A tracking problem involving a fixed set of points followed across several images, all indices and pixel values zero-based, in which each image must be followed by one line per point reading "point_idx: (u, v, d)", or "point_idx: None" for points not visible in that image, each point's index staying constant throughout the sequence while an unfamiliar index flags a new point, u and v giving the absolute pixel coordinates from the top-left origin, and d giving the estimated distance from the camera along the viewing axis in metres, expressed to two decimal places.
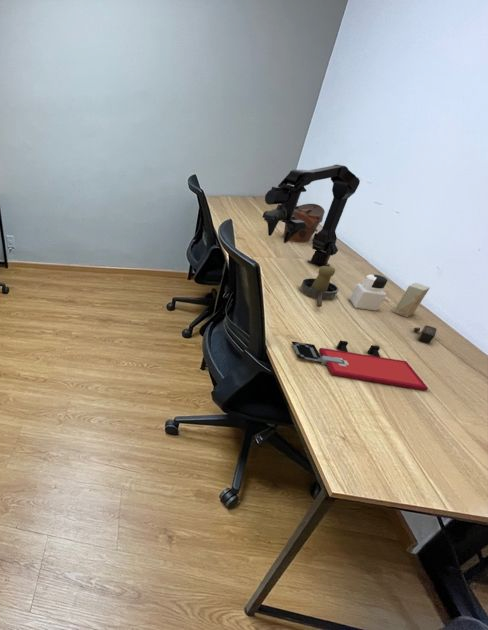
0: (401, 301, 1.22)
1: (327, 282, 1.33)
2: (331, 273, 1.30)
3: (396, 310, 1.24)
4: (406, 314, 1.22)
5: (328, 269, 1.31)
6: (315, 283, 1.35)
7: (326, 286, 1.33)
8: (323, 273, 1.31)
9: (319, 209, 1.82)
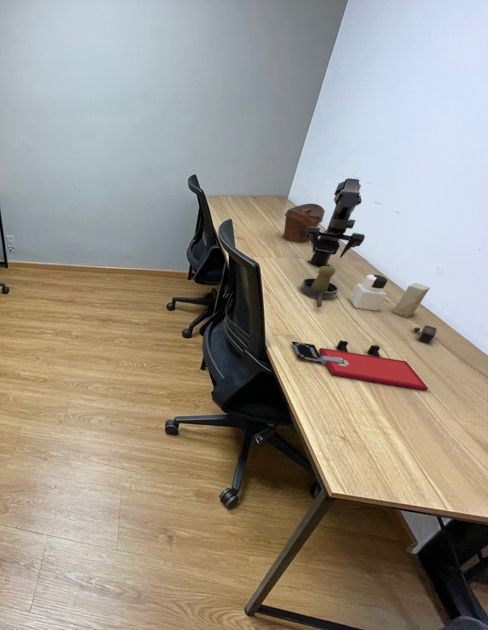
0: (401, 301, 1.22)
1: (327, 282, 1.33)
2: (331, 273, 1.30)
3: (396, 310, 1.24)
4: (406, 314, 1.22)
5: (328, 269, 1.31)
6: (315, 283, 1.35)
7: (326, 286, 1.33)
8: (323, 273, 1.31)
9: (319, 209, 1.82)
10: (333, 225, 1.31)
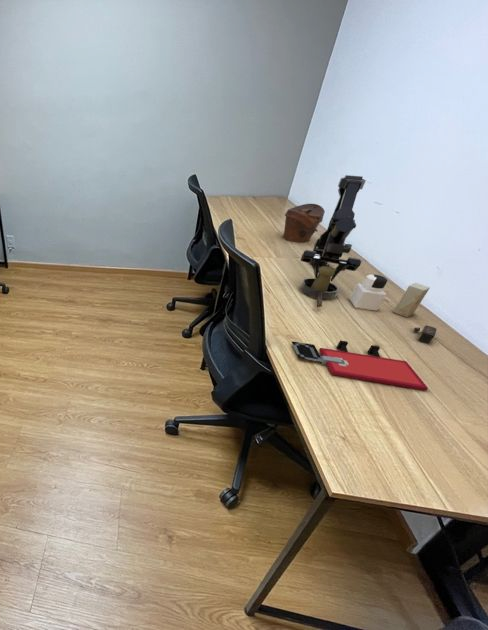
0: (401, 301, 1.22)
1: (327, 282, 1.33)
2: (331, 273, 1.30)
3: (396, 310, 1.24)
4: (406, 314, 1.22)
5: (328, 269, 1.31)
6: (315, 283, 1.35)
7: (326, 286, 1.33)
8: (323, 273, 1.31)
9: (319, 209, 1.82)
10: (330, 249, 1.28)
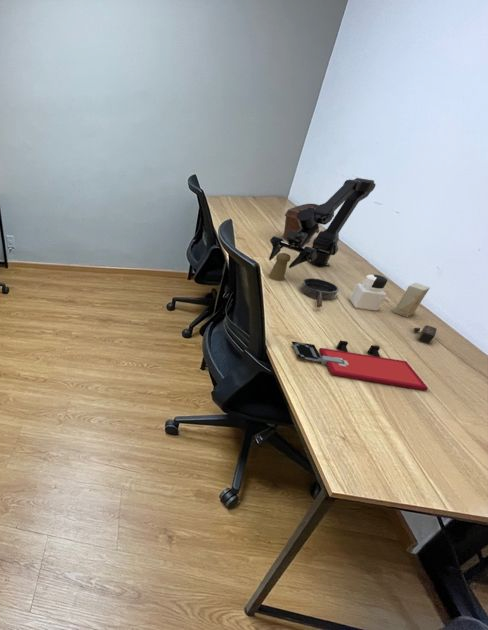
0: (401, 301, 1.22)
1: (281, 267, 1.45)
2: (283, 259, 1.43)
3: (396, 310, 1.24)
4: (406, 314, 1.22)
5: (282, 255, 1.43)
6: (273, 267, 1.49)
7: (280, 271, 1.46)
8: (277, 258, 1.45)
9: None
10: (285, 235, 1.41)
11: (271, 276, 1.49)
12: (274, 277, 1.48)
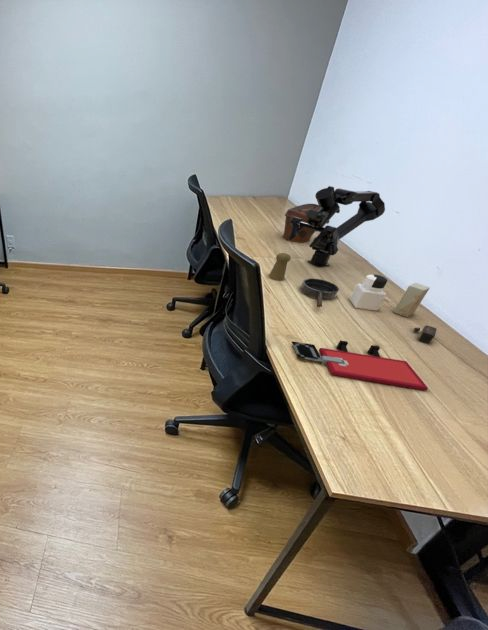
0: (401, 301, 1.22)
1: (281, 267, 1.45)
2: (283, 259, 1.43)
3: (396, 310, 1.24)
4: (406, 314, 1.22)
5: (282, 255, 1.43)
6: (273, 267, 1.49)
7: (280, 271, 1.46)
8: (277, 258, 1.45)
9: (319, 209, 1.82)
10: (306, 215, 1.43)
11: (271, 276, 1.49)
12: (274, 277, 1.48)
